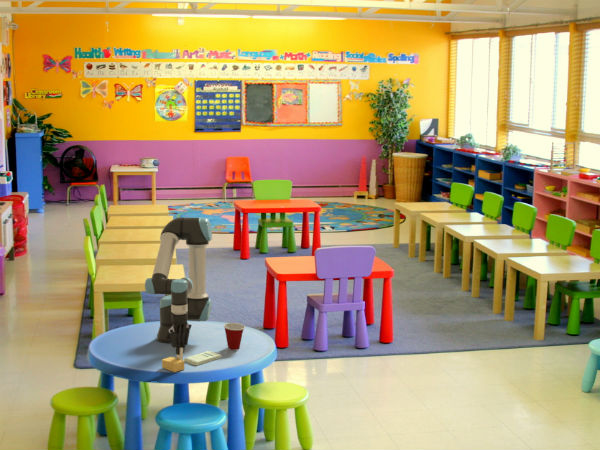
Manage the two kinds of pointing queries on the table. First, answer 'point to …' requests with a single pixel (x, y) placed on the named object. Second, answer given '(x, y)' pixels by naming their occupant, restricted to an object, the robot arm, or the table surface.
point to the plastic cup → (234, 335)
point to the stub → (173, 364)
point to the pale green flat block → (202, 358)
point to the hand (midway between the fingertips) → (179, 360)
